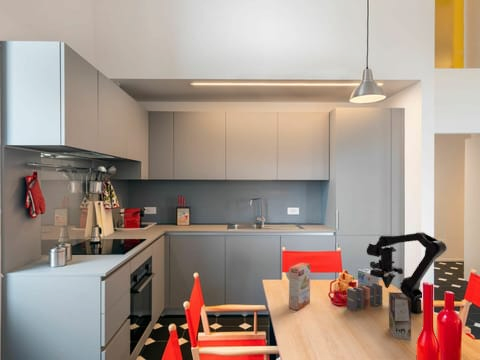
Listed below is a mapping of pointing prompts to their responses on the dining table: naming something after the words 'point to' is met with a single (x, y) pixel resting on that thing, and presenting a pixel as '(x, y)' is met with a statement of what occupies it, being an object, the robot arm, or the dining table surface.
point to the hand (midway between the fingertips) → (386, 287)
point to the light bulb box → (366, 278)
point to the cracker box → (299, 286)
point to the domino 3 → (366, 296)
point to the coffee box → (400, 315)
